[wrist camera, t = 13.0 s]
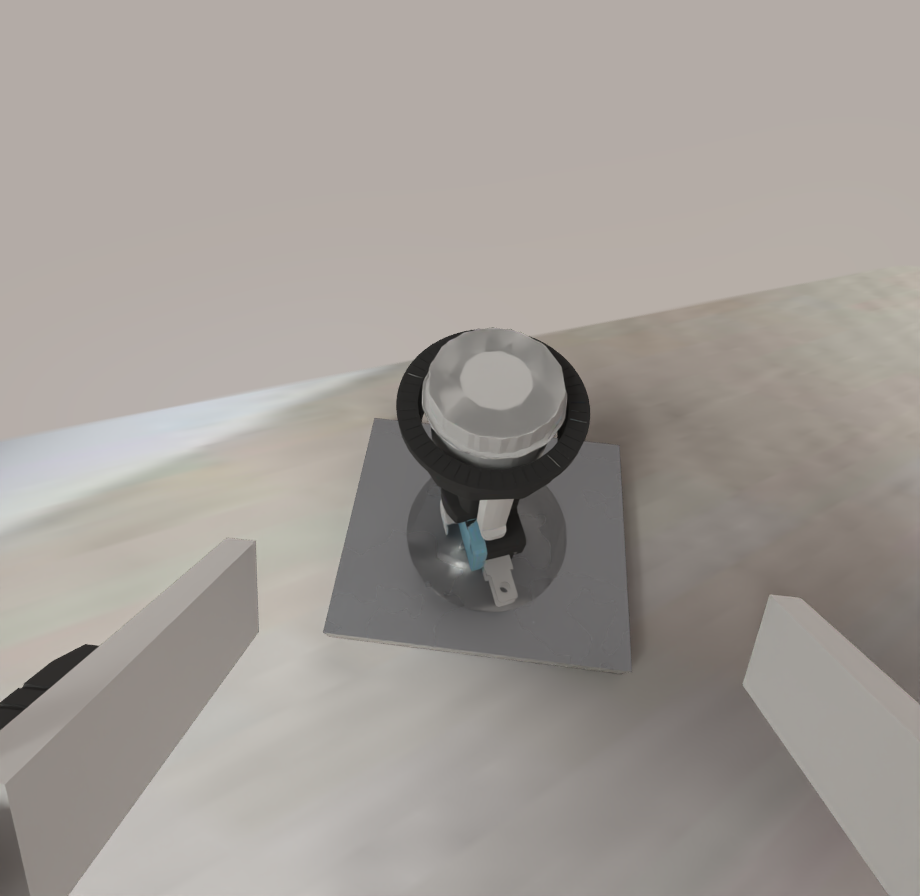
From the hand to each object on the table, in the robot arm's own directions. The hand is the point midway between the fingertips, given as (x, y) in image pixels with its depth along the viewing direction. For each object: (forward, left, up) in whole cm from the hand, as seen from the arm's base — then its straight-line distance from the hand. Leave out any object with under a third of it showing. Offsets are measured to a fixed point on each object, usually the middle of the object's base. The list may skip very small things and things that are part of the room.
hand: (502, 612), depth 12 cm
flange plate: (0, +5, -8) cm, 10 cm away
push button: (-1, +5, -7) cm, 9 cm away
